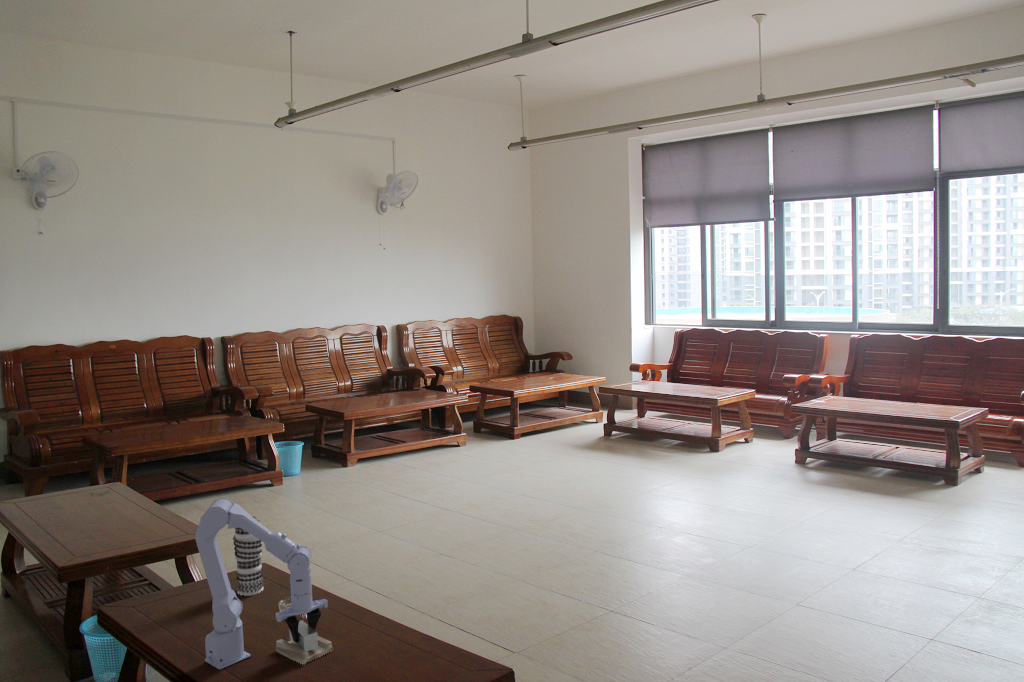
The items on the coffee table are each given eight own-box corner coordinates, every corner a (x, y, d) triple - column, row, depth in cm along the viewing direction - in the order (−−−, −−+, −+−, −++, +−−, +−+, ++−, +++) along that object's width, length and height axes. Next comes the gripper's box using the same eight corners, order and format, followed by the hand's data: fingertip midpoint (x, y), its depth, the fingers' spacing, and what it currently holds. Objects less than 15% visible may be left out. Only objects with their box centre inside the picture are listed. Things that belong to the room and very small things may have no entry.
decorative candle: (249, 583, 268) (245, 512, 266) (270, 587, 265) (266, 515, 262) (230, 593, 260) (225, 520, 258) (251, 597, 256) (247, 523, 254)
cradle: (302, 665, 210) (302, 655, 210) (275, 651, 219) (275, 641, 219) (333, 651, 218) (332, 641, 218) (305, 637, 226) (305, 628, 226)
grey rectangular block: (304, 652, 213) (303, 636, 213) (289, 639, 221) (288, 624, 221) (318, 647, 216) (317, 632, 215) (303, 635, 224) (302, 620, 223)
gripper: (319, 580, 225) (321, 626, 226) (270, 594, 216) (272, 641, 217) (330, 587, 219) (332, 634, 220) (280, 602, 210) (282, 650, 211)
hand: (303, 638), depth 218 cm, fingers closed on grey rectangular block, 4 cm apart
